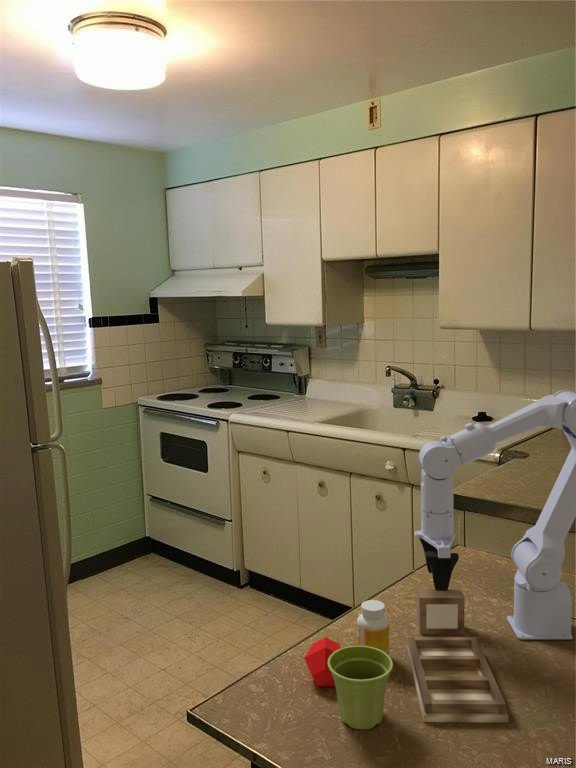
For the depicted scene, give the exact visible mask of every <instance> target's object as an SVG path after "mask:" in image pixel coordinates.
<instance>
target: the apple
mask: <svg viewBox="0 0 576 768" xmlns="http://www.w3.org/2000/svg"><path fill="white" fill-rule="evenodd" d="M341 648H342V646H341V645H340V643H338V642H336V641H335V640H332V639H331V638H329V637H328V636H324V637H322V638H321V639H319V640H317V641H315V642H313V643H312V644H311V646H310V647H309V649H308V651H307V653H306V654H305V656H304V657H303V658H304V661H305V663H306V665H307V667H308V671H309V672H310V675H311V677H312V678H313V680H314V682H315V684H316V686H317V687H329V688H331V687H332V688H333V687H336V686H335V681H334V678H333V676H332V672H331V671H330V669H329V667H328V658H329V657H330V655H331V654H332V653H333V652H335V651H337V650H338V649H341Z"/></svg>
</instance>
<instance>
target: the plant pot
mask: <svg viewBox="0 0 576 768" xmlns="http://www.w3.org/2000/svg"><path fill="white" fill-rule="evenodd" d="M393 663H394V662H393V660H392V658H391V657H390V654H389V655H388V654H386V653H385V652H383V651H382V650H380V649H377V648H373V647H369V646H357V645H351V646H350V645H349V646H345V647H341V649H338V650H337V651H335V652H333V653H332V654H331V655H330V657H329V658H328V667H329V669H330V671H331V672H332V676H333V678H334V681H335V686H334V687H335V691H336V696H337V697H336V699H337V702H338V704H337V705H338V709H339V714H340V715H339V716H340V719H341V721H342V722H343V723H344V724H347V726H349V727H350V728H351V729H355V730H356V729H357V730H370V729H373V728H374V727H375V726H376V725H377V724H381V722H382V720H383V714H384V708H385V707H384V706H385V697H386V690H387V684H388V682H387V681H388V679H389V678H390V673H391V672H392V671H393V668H394V667H393V666H394V664H393Z"/></svg>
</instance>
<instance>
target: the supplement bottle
mask: <svg viewBox="0 0 576 768" xmlns="http://www.w3.org/2000/svg"><path fill="white" fill-rule="evenodd" d="M356 620H357V621H356V637H357V638H356V646H369V647H373V648H377V649H380V650H382V651H383V652H385V653H386V654H388V655H389V656H390V621H389V618H388V617H387V615H386V605H385V603H384V602H383V601H380V600H376V599H369V600H368V599H367V600H365V601H363V602H362V603H361V605H360V614H359V615H358V617H357V619H356Z"/></svg>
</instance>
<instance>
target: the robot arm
mask: <svg viewBox="0 0 576 768" xmlns="http://www.w3.org/2000/svg"><path fill="white" fill-rule="evenodd" d="M538 427H546V428H553V429H559V430H560V429H561V430H563V433H564V435H565V437H566V438H567V440H568V443H569V445H570V446H571V449H570V451H569V453H568V455H567V457H566V460H565V462H564V464H563V466H562V468H561V470H560V472H559V474H558V477H557V479H556V481H555V483H554V485H553V487H552V489H551V491H550V493H549V496H548V498H547V500H546V502H545V504H544V505H543V508H542V510H541V513H540V515H539V517H538V519H537V521H536V523H535V525H534V526H532V527H530V528H529V529H527V530H526V532H525V533H524V535H523V537H522V538H521V539H519V541H517V542H516V543H515V544H514V546H513V548H512V549H511V553H510V557H511V561H512V563H513V565H514V566H515V567H516V568H517V569H516V573H515V575H514V578H513V579H514V580H513V581H514V584H513V585H514V586H513V587H514V589H513V615H507V616H506V620H507V621H508V623H509V626H510V627H511V628H512V630H513V632H514V634H515V636H516V637H517V639H518V640H572V639H573V635H572V617H573V616H572V615H573V614H572V613H573V612H572V611H573V610H572V609H573V603H572V602H573V601H572V596H571V595H572V594H571V591H570V588H569V586H568V584H567V583H566V582H565V581H561V580H562V575H563V570H562V569H563V567H562V566H563V564H564V561H565V559H566V552H565V550H566V549H565V539H566V538H567V535H568V533H569V531H570V529H571V528H572V526H573V523H574V521H575V519H576V391H574V390H571V389H562V390H558V391H557V392H555V393H554V394H549V395H545V396H543V397H540V399H537V400H536V401H534V402H533V403H531V404H529V405H526V406H525V407H523V408H521V409H519V410H516V411H515V412H513V413H510V414H509V415H507V416H505V417H503V418H501V419H498V420H497V421H494V423H493V422H492V423H491V424H489V425H486V424H482V423H480V422H477V423H475V424H473V423H472V422H469V423H467V424H464V429H462V430H459V431H458V432H456V433H453V434H450V435H448V436H446V435H442V436H441V437H439V440H440V441H436V440H433V441H428V442H427V443H425V444H424V445H423V446H422V447H421V448H420V451H419V453H418V455H417V460H418V463H419V464H420V466H421V468H422V469H421V473H420V474H421V475H420V480H421V483H420V524H421V525H420V527H421V529H420V530H415V531H414V537H415V538H416V539H419V541H420V543H421V546H422V549H423V552H424V557H425V563H426V568H427V571H428V574H431V576H432V582H433V586H434V590H436V591H447V590H448V589H449V588H450V582H451V578H452V574H453V570H454V568H455V566H456V564H457V563H458V562H459V559H460V555H459V554H458V552H451V546H452V544H453V542H454V540H455V536H456V533H455V529H454V528H455V527H454V521H455V520H454V519H455V518H454V484H453V476H454V474H455V472H456V471H457V468H460V467H463V466H466V465H469V464H470V463H473V462H475V461H478V460H479V459H481V458H484V457H485V456H487V455H490V454H492V453H494V451H495V448H496V446H497V444H498V443H500V442H502V441H505V440H508V439H510V438H513V437H515V436H518V435H520V434H523V433H526V432H528V431H531V430H533V429H536V428H538Z"/></svg>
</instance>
